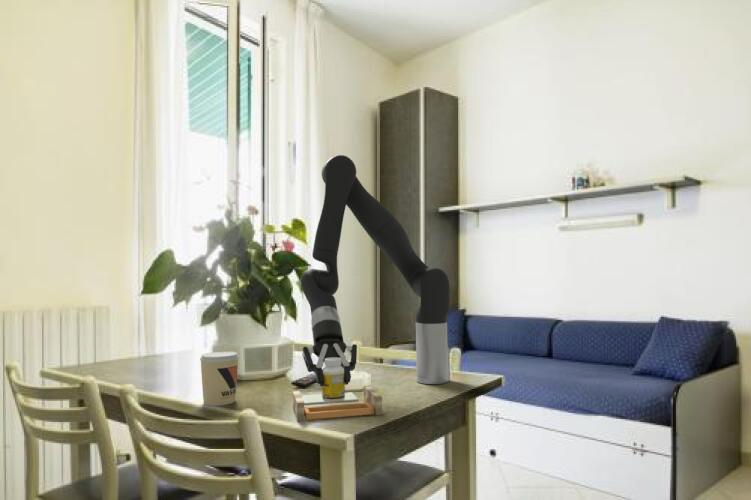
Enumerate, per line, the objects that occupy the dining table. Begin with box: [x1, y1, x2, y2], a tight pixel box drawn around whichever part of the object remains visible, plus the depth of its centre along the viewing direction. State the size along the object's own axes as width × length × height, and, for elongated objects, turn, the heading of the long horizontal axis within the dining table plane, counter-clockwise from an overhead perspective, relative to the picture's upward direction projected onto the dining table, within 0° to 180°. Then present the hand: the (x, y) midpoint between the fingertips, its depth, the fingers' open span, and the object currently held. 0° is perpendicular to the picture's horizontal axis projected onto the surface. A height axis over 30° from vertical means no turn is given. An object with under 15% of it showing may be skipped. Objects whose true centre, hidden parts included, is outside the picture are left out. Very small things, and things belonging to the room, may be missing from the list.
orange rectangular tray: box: [304, 402, 374, 422], centre depth 117 cm, size 6×15×2 cm, turn 104°
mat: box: [301, 391, 359, 406], centre depth 132 cm, size 8×14×1 cm, turn 104°
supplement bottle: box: [321, 357, 346, 403], centre depth 124 cm, size 5×5×10 cm
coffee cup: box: [199, 351, 239, 407], centre depth 131 cm, size 9×9×12 cm
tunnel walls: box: [291, 385, 383, 423], centre depth 120 cm, size 12×19×4 cm, turn 104°
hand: (334, 383), depth 123 cm, fingers closed on supplement bottle, 5 cm apart
